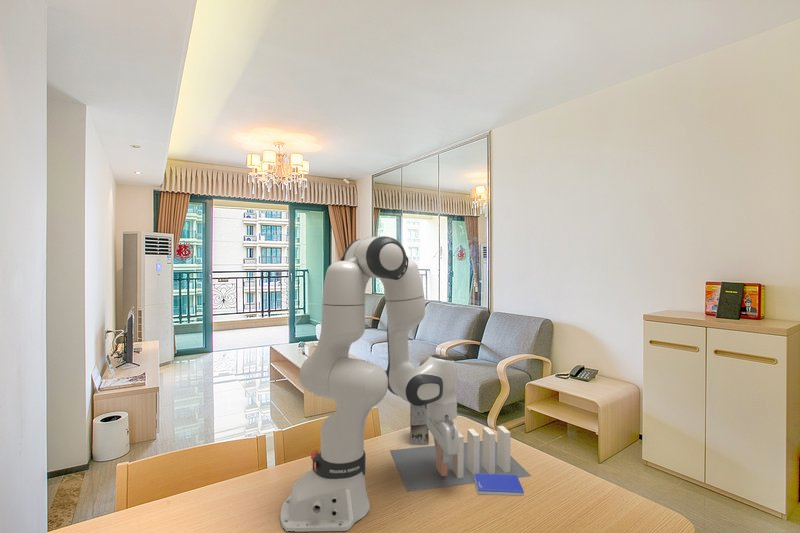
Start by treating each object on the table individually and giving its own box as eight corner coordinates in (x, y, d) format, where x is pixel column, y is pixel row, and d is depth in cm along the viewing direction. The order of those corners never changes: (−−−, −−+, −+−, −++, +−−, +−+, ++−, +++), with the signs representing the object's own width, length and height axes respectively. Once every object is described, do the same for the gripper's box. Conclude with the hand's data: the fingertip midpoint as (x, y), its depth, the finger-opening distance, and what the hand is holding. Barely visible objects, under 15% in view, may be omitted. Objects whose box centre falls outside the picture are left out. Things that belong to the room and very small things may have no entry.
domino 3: (489, 474, 120) (489, 434, 120) (482, 466, 125) (482, 427, 125) (494, 473, 121) (495, 433, 121) (487, 465, 126) (487, 427, 125)
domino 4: (504, 472, 121) (504, 432, 121) (497, 464, 126) (497, 426, 126) (510, 471, 122) (510, 432, 122) (502, 463, 127) (502, 425, 127)
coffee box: (429, 446, 140) (429, 399, 139) (410, 446, 140) (410, 399, 139) (427, 435, 149) (427, 391, 148) (410, 434, 149) (410, 391, 149)
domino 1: (457, 478, 118) (457, 437, 118) (451, 469, 123) (452, 430, 123) (463, 477, 119) (463, 436, 118) (457, 469, 123) (457, 430, 123)
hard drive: (478, 489, 110) (524, 491, 109) (473, 472, 118) (516, 474, 118) (478, 495, 110) (523, 496, 110) (473, 477, 118) (516, 479, 118)
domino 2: (473, 476, 119) (473, 435, 119) (467, 467, 124) (467, 429, 124) (479, 475, 120) (479, 435, 120) (472, 467, 125) (472, 428, 124)
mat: (407, 492, 111) (407, 491, 111) (389, 451, 136) (389, 450, 136) (531, 477, 120) (531, 476, 120) (494, 440, 144) (494, 439, 144)
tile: (441, 476, 117) (441, 434, 117) (436, 467, 122) (436, 428, 122) (447, 475, 117) (447, 434, 117) (441, 466, 122) (442, 427, 122)
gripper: (465, 422, 110) (464, 473, 110) (441, 397, 130) (441, 440, 130) (443, 424, 109) (442, 475, 109) (422, 399, 129) (422, 442, 129)
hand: (441, 456), depth 120 cm, fingers closed on tile, 5 cm apart
